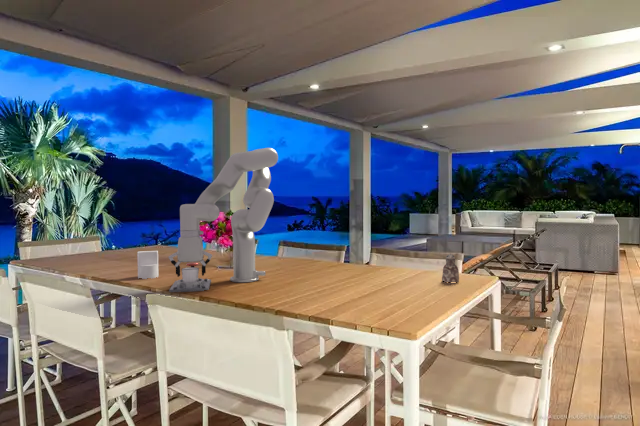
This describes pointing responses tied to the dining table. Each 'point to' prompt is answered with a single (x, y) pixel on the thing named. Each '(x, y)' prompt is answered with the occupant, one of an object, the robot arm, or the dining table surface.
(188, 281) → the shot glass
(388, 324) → the dining table surface
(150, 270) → the base with upright slab
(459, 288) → the dining table surface
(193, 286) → the valve body
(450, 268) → the figurine
